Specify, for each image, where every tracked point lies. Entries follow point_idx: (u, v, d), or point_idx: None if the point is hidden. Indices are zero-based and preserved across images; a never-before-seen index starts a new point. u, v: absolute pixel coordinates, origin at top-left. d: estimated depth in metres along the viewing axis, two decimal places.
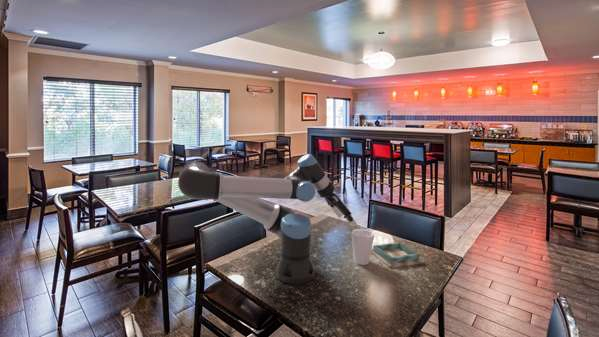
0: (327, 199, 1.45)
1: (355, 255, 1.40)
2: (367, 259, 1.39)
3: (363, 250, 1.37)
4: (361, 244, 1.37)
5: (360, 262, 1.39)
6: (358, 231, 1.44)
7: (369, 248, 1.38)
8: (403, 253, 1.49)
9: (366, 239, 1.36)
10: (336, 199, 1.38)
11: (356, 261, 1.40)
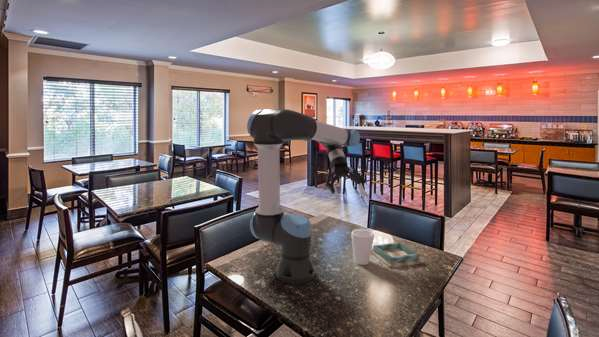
0: (341, 170, 1.56)
1: (355, 255, 1.40)
2: (367, 259, 1.39)
3: (363, 250, 1.37)
4: (361, 244, 1.37)
5: (360, 262, 1.39)
6: (358, 231, 1.44)
7: (369, 248, 1.38)
8: (403, 253, 1.49)
9: (366, 239, 1.36)
10: None
11: (356, 261, 1.40)
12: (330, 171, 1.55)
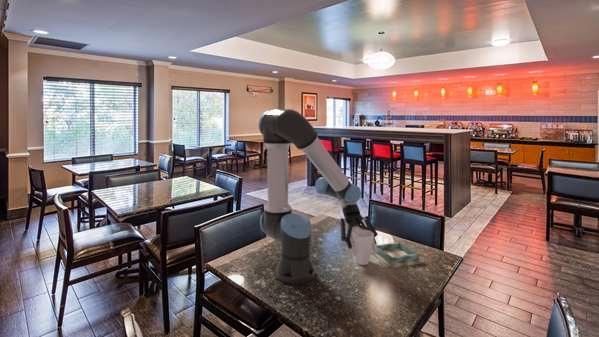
0: (354, 219, 1.46)
1: (355, 255, 1.40)
2: (367, 259, 1.39)
3: (363, 250, 1.37)
4: (361, 244, 1.37)
5: (360, 262, 1.39)
6: (358, 231, 1.44)
7: (369, 248, 1.38)
8: (403, 253, 1.49)
9: (366, 239, 1.36)
10: None
11: (356, 261, 1.40)
12: (343, 222, 1.44)
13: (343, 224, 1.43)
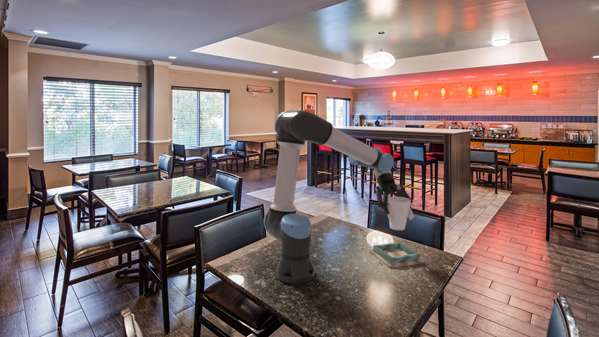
0: (389, 187, 1.48)
1: (392, 221, 1.43)
2: (404, 225, 1.42)
3: (400, 215, 1.40)
4: (399, 210, 1.39)
5: (397, 227, 1.42)
6: (394, 198, 1.47)
7: (406, 213, 1.41)
8: (403, 253, 1.49)
9: (404, 204, 1.39)
10: None
11: (393, 227, 1.43)
12: (379, 190, 1.46)
13: (379, 191, 1.46)
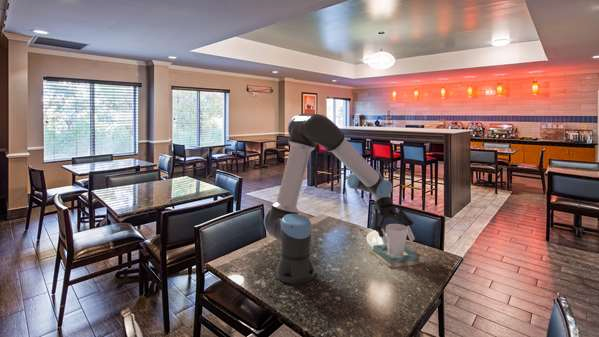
0: (387, 211, 1.50)
1: (390, 249, 1.45)
2: (402, 252, 1.44)
3: (398, 244, 1.42)
4: (396, 238, 1.41)
5: (395, 255, 1.44)
6: (391, 225, 1.49)
7: (404, 242, 1.43)
8: (403, 253, 1.49)
9: (401, 233, 1.41)
10: None
11: (391, 254, 1.45)
12: (377, 213, 1.49)
13: (376, 214, 1.48)
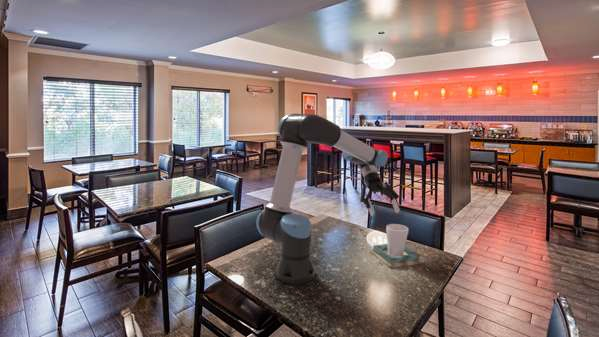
0: (375, 185, 1.60)
1: (390, 249, 1.45)
2: (402, 252, 1.44)
3: (398, 244, 1.42)
4: (397, 238, 1.42)
5: (395, 255, 1.44)
6: (392, 225, 1.49)
7: (404, 242, 1.43)
8: (403, 253, 1.49)
9: (402, 233, 1.41)
10: None
11: (391, 254, 1.45)
12: (364, 186, 1.59)
13: (364, 188, 1.58)
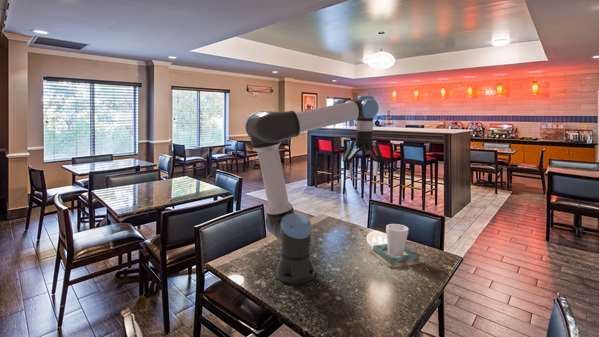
0: (363, 146, 1.49)
1: (390, 249, 1.45)
2: (402, 252, 1.44)
3: (398, 244, 1.42)
4: (397, 238, 1.42)
5: (395, 255, 1.44)
6: (392, 225, 1.49)
7: (404, 242, 1.43)
8: (403, 253, 1.49)
9: (402, 233, 1.41)
10: None
11: (391, 254, 1.45)
12: (352, 146, 1.47)
13: (351, 148, 1.47)
